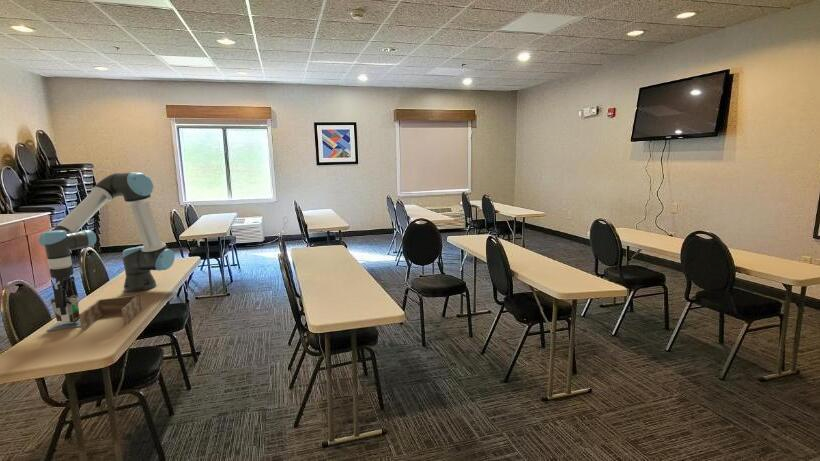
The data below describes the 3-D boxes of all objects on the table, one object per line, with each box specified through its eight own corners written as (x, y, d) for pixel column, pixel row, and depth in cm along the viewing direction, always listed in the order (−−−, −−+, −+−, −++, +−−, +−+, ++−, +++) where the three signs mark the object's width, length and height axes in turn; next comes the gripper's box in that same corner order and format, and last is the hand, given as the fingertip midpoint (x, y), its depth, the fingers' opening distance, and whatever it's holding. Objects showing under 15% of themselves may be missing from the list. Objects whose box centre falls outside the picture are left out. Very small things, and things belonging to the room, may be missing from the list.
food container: (90, 317, 180) (86, 295, 178) (76, 322, 174) (71, 300, 172) (68, 315, 183) (64, 294, 181) (54, 321, 177) (49, 299, 175)
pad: (57, 323, 180) (57, 322, 180) (94, 318, 184) (94, 317, 184) (46, 331, 171) (46, 330, 171) (86, 326, 176) (86, 325, 176)
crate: (100, 314, 190) (98, 299, 189) (141, 309, 195) (139, 294, 194) (81, 330, 171) (79, 314, 170) (127, 324, 176) (124, 308, 175)
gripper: (61, 262, 181) (70, 311, 185) (37, 273, 163) (48, 328, 167) (81, 260, 184) (90, 309, 188) (60, 271, 165) (70, 325, 169)
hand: (70, 318), depth 177 cm, fingers closed on food container, 7 cm apart
